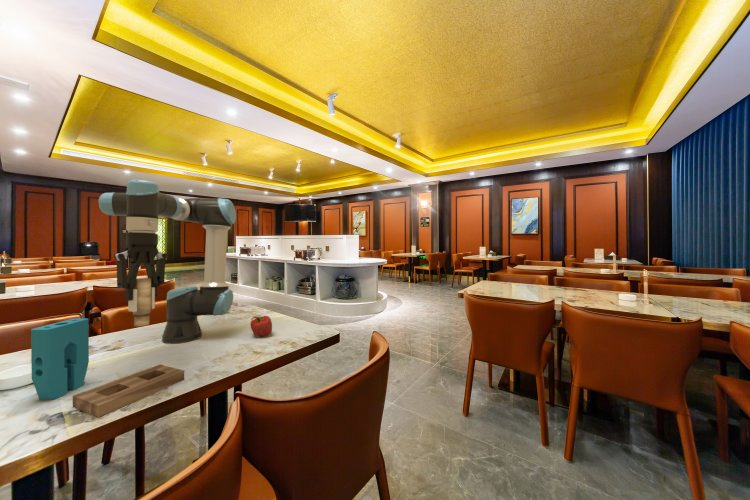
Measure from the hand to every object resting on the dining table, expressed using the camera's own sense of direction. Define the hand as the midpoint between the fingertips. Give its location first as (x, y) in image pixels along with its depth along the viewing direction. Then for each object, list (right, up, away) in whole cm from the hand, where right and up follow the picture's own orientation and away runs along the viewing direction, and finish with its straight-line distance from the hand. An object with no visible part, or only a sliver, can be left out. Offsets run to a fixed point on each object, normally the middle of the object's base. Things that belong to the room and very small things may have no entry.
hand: (141, 309), depth 88 cm
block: (-21, -24, -3) cm, 32 cm away
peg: (0, -5, 0) cm, 5 cm away
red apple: (+16, -23, +50) cm, 57 cm away
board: (0, -24, -3) cm, 24 cm away
